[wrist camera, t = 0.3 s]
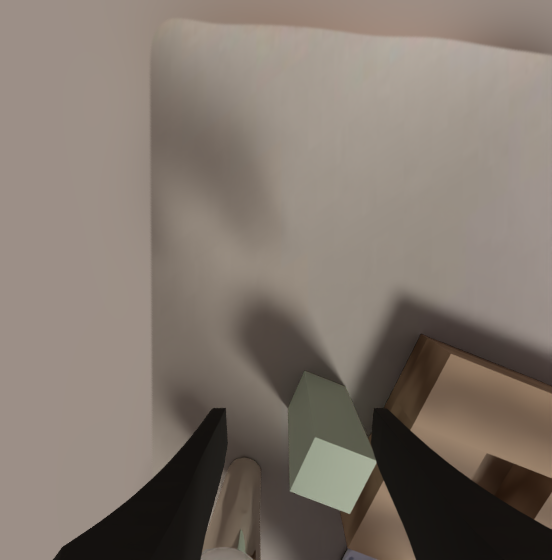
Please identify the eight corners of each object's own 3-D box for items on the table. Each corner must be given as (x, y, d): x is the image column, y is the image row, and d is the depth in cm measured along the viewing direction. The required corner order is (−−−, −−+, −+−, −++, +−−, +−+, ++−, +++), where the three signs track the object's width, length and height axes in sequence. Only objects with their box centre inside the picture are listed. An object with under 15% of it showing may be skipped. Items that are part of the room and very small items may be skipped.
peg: (328, 423, 24) (349, 514, 16) (287, 408, 24) (289, 491, 16) (345, 386, 23) (377, 460, 15) (304, 370, 23) (315, 437, 15)
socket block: (506, 563, 25) (548, 623, 21) (337, 499, 25) (347, 548, 21) (608, 408, 23) (677, 443, 19) (421, 333, 22) (450, 353, 18)
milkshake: (243, 505, 25) (216, 676, 15) (212, 464, 25) (163, 613, 15) (282, 484, 25) (280, 646, 15) (251, 442, 24) (228, 580, 14)
